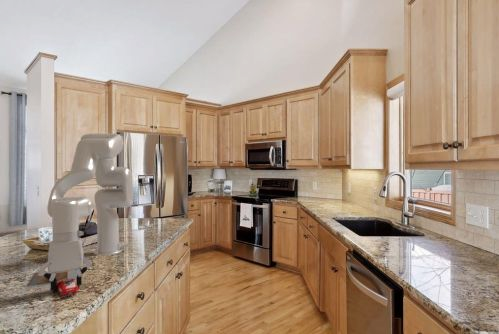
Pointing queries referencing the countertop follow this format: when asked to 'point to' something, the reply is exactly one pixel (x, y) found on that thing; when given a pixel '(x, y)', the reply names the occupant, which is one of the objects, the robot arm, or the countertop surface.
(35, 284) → the gray board
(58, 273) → the tan flat block
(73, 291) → the race car
